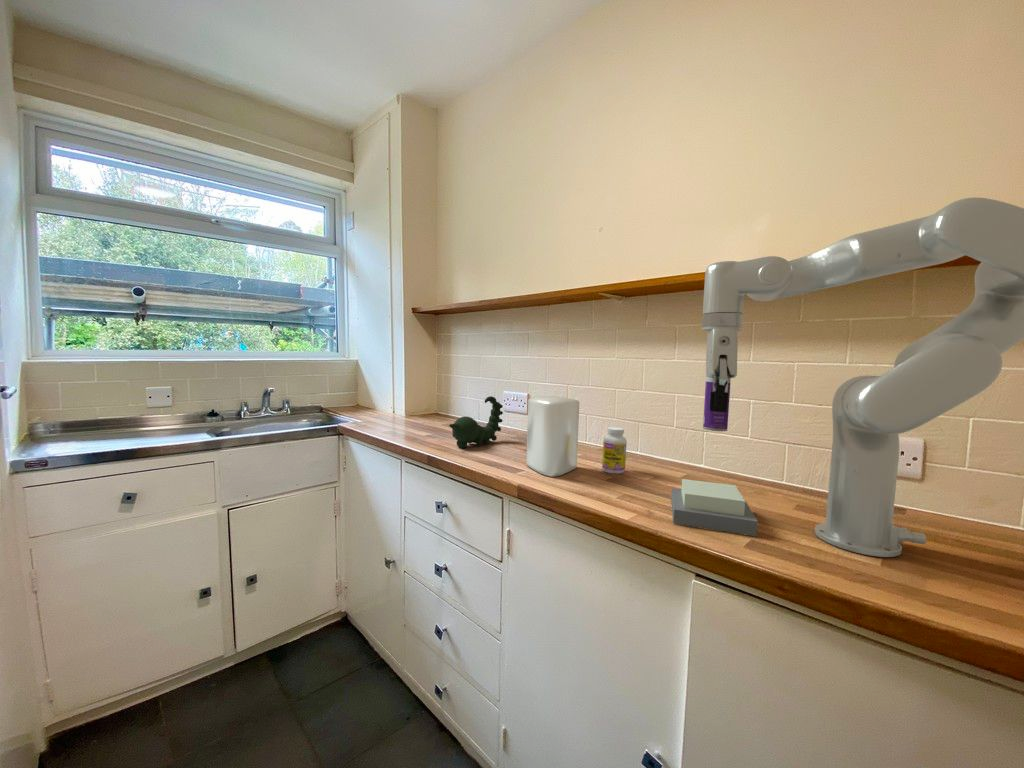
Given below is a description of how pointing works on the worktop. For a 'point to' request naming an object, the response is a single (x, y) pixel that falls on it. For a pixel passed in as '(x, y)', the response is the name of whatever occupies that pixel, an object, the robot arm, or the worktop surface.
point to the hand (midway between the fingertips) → (716, 409)
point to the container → (713, 418)
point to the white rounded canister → (552, 435)
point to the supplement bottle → (614, 451)
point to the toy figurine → (477, 427)
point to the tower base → (712, 518)
